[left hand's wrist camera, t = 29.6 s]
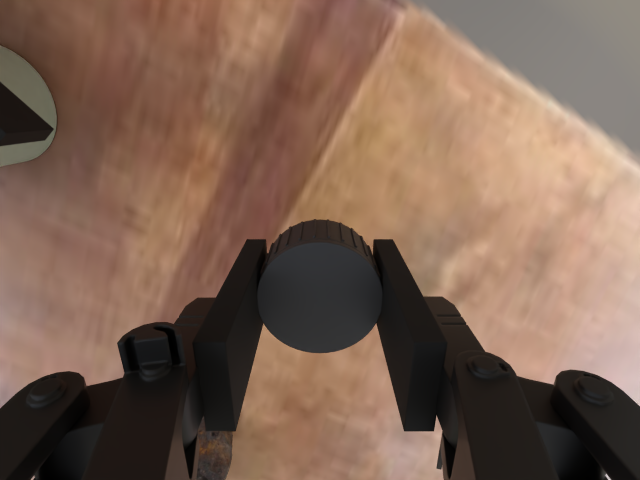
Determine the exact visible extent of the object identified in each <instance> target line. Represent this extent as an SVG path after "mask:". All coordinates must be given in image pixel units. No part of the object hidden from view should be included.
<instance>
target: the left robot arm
mask: <svg viewBox="0 0 640 480" xmlns="http://www.w3.org/2000/svg"><path fill="white" fill-rule="evenodd" d="M266 255H267V248H266V239H247V241H246V242H245V244H244V246H243V248H242V250H241V252H240V254H239V256H238V257H237V259H236V261H235V263H234V265H233V267H232V269H231V270H230V272H229V274H228V276H227V278H226V280H225V282H224V284H223V285H222V287H221V289H220V291H219V293H218V295H217V297H216V298H197V299H195V300H194V301H192V302H191V303H190V304H188V305H187V306H186V307H185V308H184V310H183V311H182V313H181V314H180V316H179V318H178V319H177V320H176V322H175V323H174V324H172V323H168V322H155V323H150V324H146V325H142V326H140V327H137V328H135V329H133V330H131V331H130V332H128V333H127V334H125V335H124V336H123V337H122V338H121V339H120V340H119V342H118V343H117V344H118V348H119V352H120V356H121V360H122V364H123V369H124V373H125V374H124V376H123V378H120V379H116V380H113V381H108V382H104V383H99V384H95V385H90V386H86V383H85V380H84V377H83V376H81V375H80V374H79V373H76V372H70V371H67V372H58V373H54V374H50V375H47V376H44V377H42V378H40V379H38V380H36V381H34V382H32V383H30V384H28V385H27V386H26V387H24V388H23V389H22V390H20V391H19V392H18V393H16V394H15V395H14V396H13V397H12V398H11V399H10V400H9V401H8V402H7V403H6V404H5V405H4V406H2V407H1V408H0V480H31V478H32V477H33V476H35V478H34V479H33V480H196V478H197V468H198V459H199V449H200V445H199V438H198V429H199V426H200V424H201V421H202V418H203V416H204V422H205V429H206V431H236V428H237V424H238V420H239V416H240V412H241V408H242V404H243V400H244V396H245V393H246V389H247V385H248V381H249V377H250V373H251V369H252V365H253V361H254V357H255V354H256V350H257V346H258V342H259V338H260V334H261V330H262V326H263V321H262V319H261V317H260V315H259V311H258V298H257V287H258V283H259V280H260V277H261V276H259V275H260V272H261V269H262V266H263V263H264V260H265V258H266ZM373 256H374V258H375V261H376V264H377V267H378V270H379V273H380V276H381V279H380V281H381V285H382V289H383V295H382V309H381V314H380V316H379V318H378V320H377V322H376V323H377V327H378V331H379V335H380V339H381V343H382V347H383V351H384V354H385V358H386V362H387V366H388V370H389V374H390V378H391V382H392V386H393V390H394V393H395V397H396V401H397V405H398V409H399V413H400V417H401V421H402V425H403V429H404V431H434V427H435V421H436V414H437V417H438V420H439V422H440V425H441V428H442V430H443V432H442V438H441V444H440V450H439V456H438V462H437V469H441V468H442V467H443V477H444V480H608V479H607V478H606V476H605V475H606V474H607V475H608V476H609V477H610V479H611V480H640V406H639V405H638V404H637V403H635V402H634V401H633V400H632V399H631V398H630V397H629V396H628V395H627V394H626V393H625V392H624V391H622V390H621V389H620V388H618V387H617V386H616V385H614V384H613V383H612V382H610V381H608V380H606V379H604V378H602V377H600V376H598V375H595V374H591V373H588V372H585V371H578V370H567V371H561V372H560V373H559V374H558V375H557V376H556V379H555V382H554V385H552V384H548V383H543V382H539V381H534V380H529V379H525V378H522V377H519V376H516V373H515V372H514V370H513V369H512V367H511V366H510V365H509V364H508V363H507V362H505V361H504V360H503V359H501V358H500V357H497V356H495V355H493V354H491V353H488V352H485V351H484V349H483V348H482V346H481V345H480V343H479V342H478V340H477V339H476V337H475V336H474V334H473V333H472V331H471V330H470V328H469V327H468V325H466V322H465V321H464V319H463V318H462V317H461V315H460V313H459V312H458V310H457V309H456V307H455V306H454V305H453V304H452V303H451V302H449V301H448V300H446V299H445V298H443V297H423V295H422V293H421V292H420V290H419V288H418V286H417V284H416V282H415V280H414V278H413V277H412V275H411V273H410V271H409V269H408V267H407V265H406V263H405V262H404V260H403V258H402V256H401V254H400V252H399V250H398V248H397V247H396V245H395V243H394V241H393V239H374V244H373Z"/></svg>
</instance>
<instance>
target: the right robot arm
mask: <svg viewBox="0 0 640 480" xmlns="http://www.w3.org/2000/svg"><path fill="white" fill-rule="evenodd" d="M53 130H54V128H53V127H51V126H50V125H49V124H48V123H47V122H46V121H45V120H43V119H42V118H41V117H40V116H39V115H38V114H37V113H35V112H34V111H33V110H32V109H31V108H30V107H29V106H27V105H26V104H25V103H24V102H23V101H22V100H21V99H20V98H18V97H17V96H16V95H15V94H14V93H13V92H12V91H10V90H9V89H8V88H7V87H6V86H5V85H4V84H2V83H1V82H0V146H6V145H14V144H22V143H29V142H37V141H45V140H46V139H47V138H48V136H49V135H50V134H51V133H52V131H53Z"/></svg>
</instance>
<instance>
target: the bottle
mask: <svg viewBox="0 0 640 480" xmlns="http://www.w3.org/2000/svg"><path fill="white" fill-rule="evenodd" d="M0 82H1V83H2V84H4V85H5V86H6V87H7V88H8V89H9V90H10V91H12V92H13V93H14V94H15V95H16V96H17V97H18V98H20V99H21V100H22V101H23V102H24V103H25V104H26V105H27V106H29V107H30V108H31V109H32V110H33V111H34V112H35V113H37V114H38V115H39V116H40V117H41V118H42V119H43V120H45V121H46V122H47V123H48V124H49V125H50V126H51V127H53V128H54V130H53V131H52V133H51V134H50V135H49V136H48V138H47V139H46V140H45V141H37V142H29V143H22V144H14V145H6V146H0V167H1V166H6V165H11V164H17V163H22V162H26V161H30V160H32V159H35V158H37V157H38V156H40V155H41V154H43V153H44V152H45V151H46V150H47V148H48V147H49V146H50V144H51V142H52V140H53V138H54V135H55V132H56V126H57V115H56V108H55V104H54V100H53V98H52V95H51V93H50V91H49V89H48V87H47V85H46V83H45V82H44V80H43V79H42V77H41V76H40V75H39V73H38V72H37V71H36V70H35V69H34V68H33V67H32V66H31V65H30V64H29V63H28V62H27V61H26V60H25V59H23V58H22V57H21V56H19V55H18V54H16V53H15V52H13V51H11V50H9V49H8V48H5V47H3V46H0Z"/></svg>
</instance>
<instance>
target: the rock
mask: <svg viewBox="0 0 640 480" xmlns="http://www.w3.org/2000/svg"><path fill="white" fill-rule="evenodd" d="M232 436H233V435H232V432H231V431H206V429H205V422H204V416H203V418H202V421H201V424H200V426H199V429H198V438H199V445H200V449H199V459H198V468H197V478H196V480H225V479H226V477H227V474H228V471H229V468H230V464H231V459H232Z"/></svg>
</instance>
